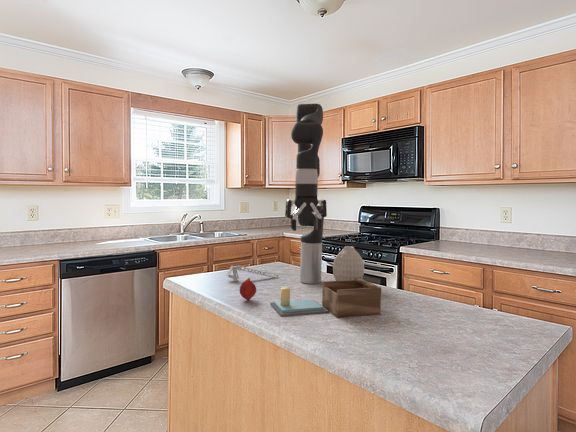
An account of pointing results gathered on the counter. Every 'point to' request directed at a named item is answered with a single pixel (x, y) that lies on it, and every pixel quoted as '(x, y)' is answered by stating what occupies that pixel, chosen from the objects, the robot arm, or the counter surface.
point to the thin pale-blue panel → (295, 303)
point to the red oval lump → (247, 289)
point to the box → (351, 298)
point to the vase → (348, 265)
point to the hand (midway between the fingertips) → (305, 230)
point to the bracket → (244, 270)
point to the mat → (298, 311)
